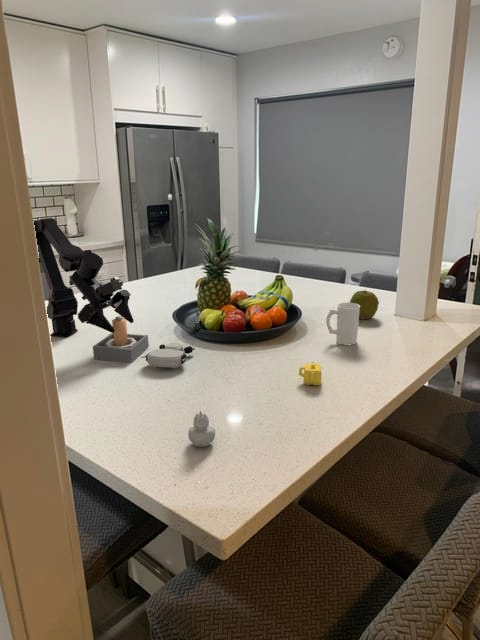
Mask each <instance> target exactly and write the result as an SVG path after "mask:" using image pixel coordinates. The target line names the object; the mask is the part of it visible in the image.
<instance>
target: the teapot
mask: <svg viewBox="0 0 480 640" xmlns="http://www.w3.org/2000/svg"><path fill="white" fill-rule="evenodd" d="M298 369H299V371H298V375H299V376H300V377H302V378H303V383H304V384H303V385H305V384H306V385H305V386H310V385H312V386H313V385H314V386H316V385H319V386H320V385H321V383H322V367H321V363H314V362H311V363H309V362H307V363H306V362H305V365H304V366H299V368H298Z"/></svg>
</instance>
